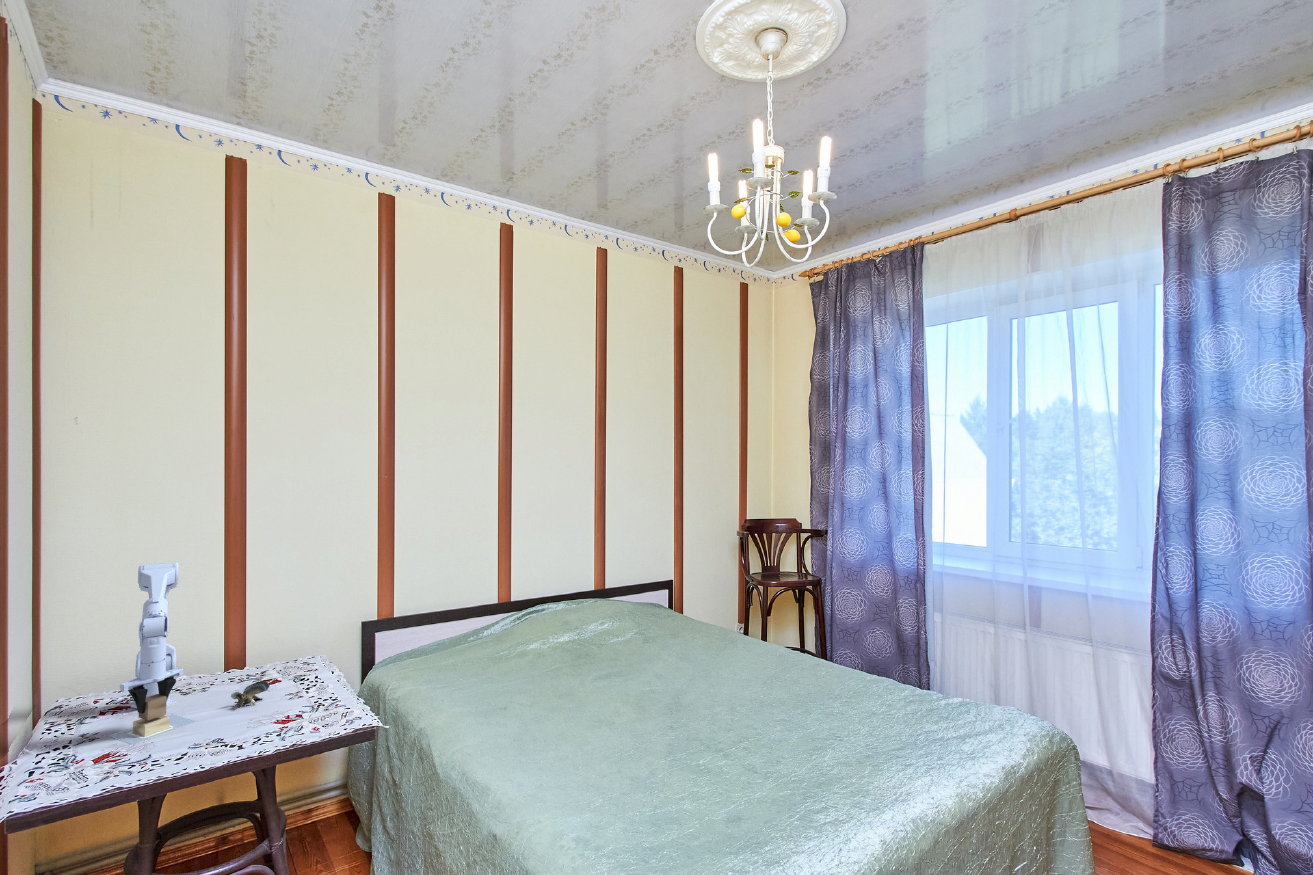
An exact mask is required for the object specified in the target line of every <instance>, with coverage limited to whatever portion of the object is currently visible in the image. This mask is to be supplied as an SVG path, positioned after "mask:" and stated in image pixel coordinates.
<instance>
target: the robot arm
mask: <svg viewBox="0 0 1313 875" xmlns="http://www.w3.org/2000/svg"><path fill="white" fill-rule="evenodd" d="M179 565H180V564H179V562H178V561H174V562H166V563H153V564H152V563H151V564H150V563H149V564H140V565H139V566H138V571H137V573H138V574H137V583H138V588H139V590H140V591H142V592H146V593H147V594H148V599H147V600H145V602H144V603H143V607H142V616H141V617H142V618H141V620H139V623H138V637H139V647H140V650H139V651H138V653H137V654H136V660H135V672H134V674H135V678H134V679H131V680H129V681H126V682H122V683H120V684H119V692H121V693H127V692H129V694H130V696H131V698H132V699H133V701H134V703H133V704H131V705H130V708H133V709H137V713H138V714H139V713H141V714H142V713H145V701H146V697H149V696H152V695H155V694H160V695H163V696H166V697H167V700H166V707H167V706H169V705H173V704H176V703H177V701H176V700H174V699H171V692H172V689H173V688H174V686H175V685H176V683H177V679H176V677H182V676H184V668H182V667H177V649H176V647H175V646H174V645H171V644H170V643H167V638H168V637H169V633H170V632H169V631H170V617H169V601H168V594H169V592H170V590H173V589H175V588H177V587H178V583H179V575H180V574H179V573H180V572H179V570H180V569H179V568H180V566H179Z"/></svg>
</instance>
